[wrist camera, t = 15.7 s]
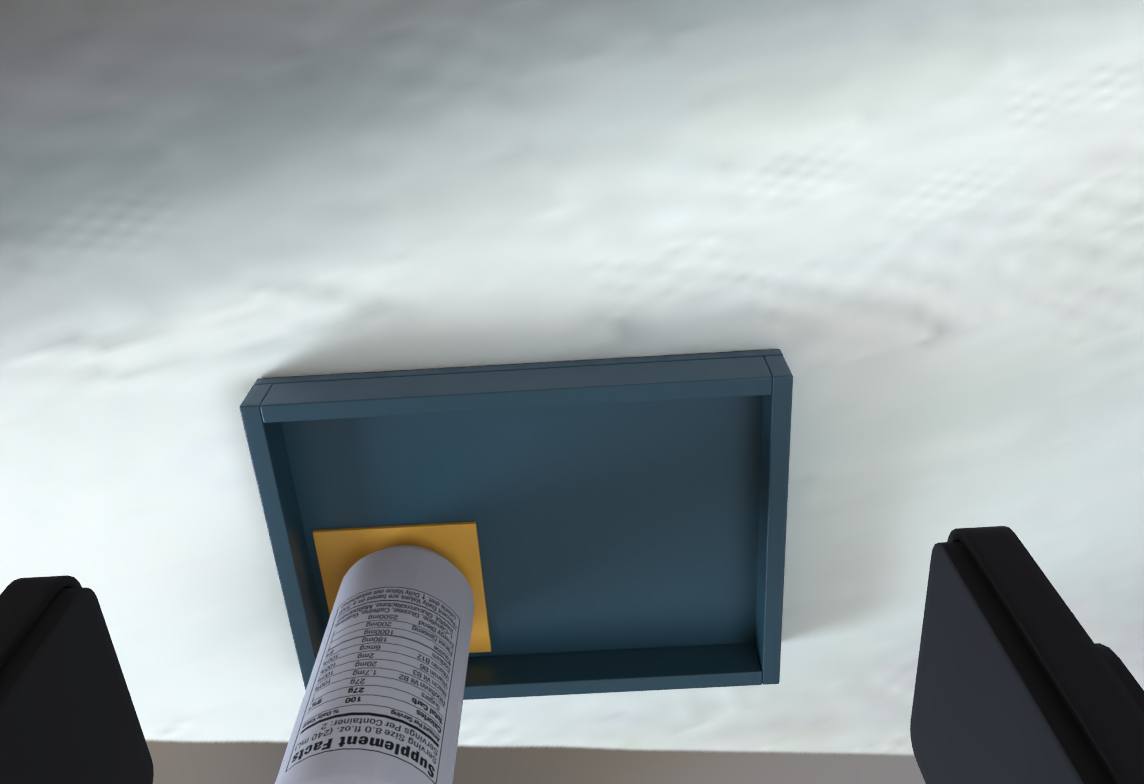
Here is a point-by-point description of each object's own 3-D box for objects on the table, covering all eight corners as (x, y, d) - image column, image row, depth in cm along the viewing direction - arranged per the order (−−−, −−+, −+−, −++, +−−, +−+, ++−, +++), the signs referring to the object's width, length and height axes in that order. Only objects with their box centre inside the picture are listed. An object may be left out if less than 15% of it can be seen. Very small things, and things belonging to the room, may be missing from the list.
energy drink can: (331, 624, 45) (233, 926, 32) (357, 520, 43) (264, 799, 29) (457, 654, 46) (414, 960, 33) (491, 553, 44) (459, 839, 30)
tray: (780, 348, 40) (793, 375, 38) (768, 646, 47) (779, 684, 45) (257, 378, 41) (238, 406, 38) (321, 668, 48) (309, 707, 45)
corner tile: (475, 521, 43) (475, 523, 43) (491, 649, 46) (491, 651, 46) (313, 529, 43) (312, 532, 43) (339, 656, 47) (338, 659, 46)
